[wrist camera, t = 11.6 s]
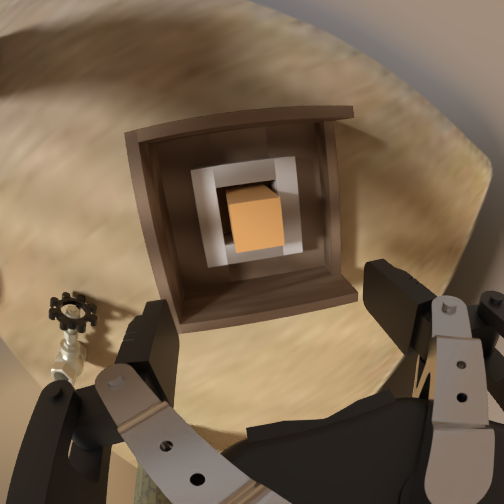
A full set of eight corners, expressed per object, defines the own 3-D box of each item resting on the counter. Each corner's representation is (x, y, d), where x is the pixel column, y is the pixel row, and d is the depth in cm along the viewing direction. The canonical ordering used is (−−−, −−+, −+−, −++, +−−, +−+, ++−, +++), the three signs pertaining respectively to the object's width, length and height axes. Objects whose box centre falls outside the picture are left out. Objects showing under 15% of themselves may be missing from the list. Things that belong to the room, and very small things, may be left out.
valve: (95, 366, 35) (105, 304, 32) (83, 397, 29) (88, 335, 26) (58, 349, 34) (61, 285, 30) (41, 378, 28) (38, 312, 24)
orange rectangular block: (225, 189, 29) (228, 204, 22) (263, 184, 29) (280, 197, 22) (230, 226, 31) (236, 253, 23) (267, 220, 31) (284, 245, 23)
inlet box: (147, 136, 26) (124, 132, 19) (319, 114, 27) (352, 105, 20) (179, 293, 33) (172, 334, 25) (329, 268, 34) (357, 301, 26)
